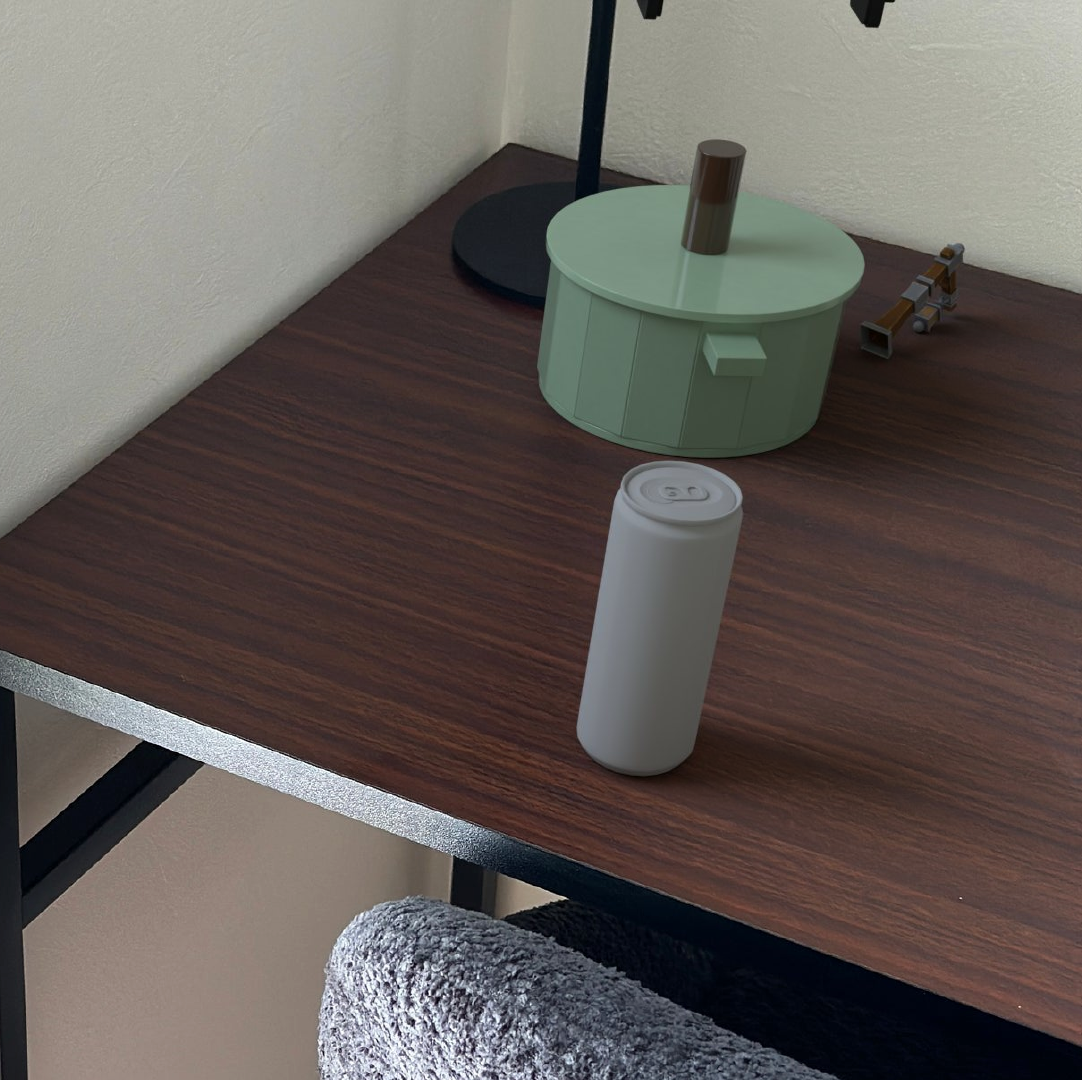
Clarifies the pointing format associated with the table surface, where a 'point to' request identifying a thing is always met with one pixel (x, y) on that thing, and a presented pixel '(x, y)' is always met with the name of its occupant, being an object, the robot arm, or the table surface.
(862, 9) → the robot arm
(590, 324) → the pot
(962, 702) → the table surface
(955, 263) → the toy blunderbuss gun
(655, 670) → the beverage can
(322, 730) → the table surface
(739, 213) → the lid
